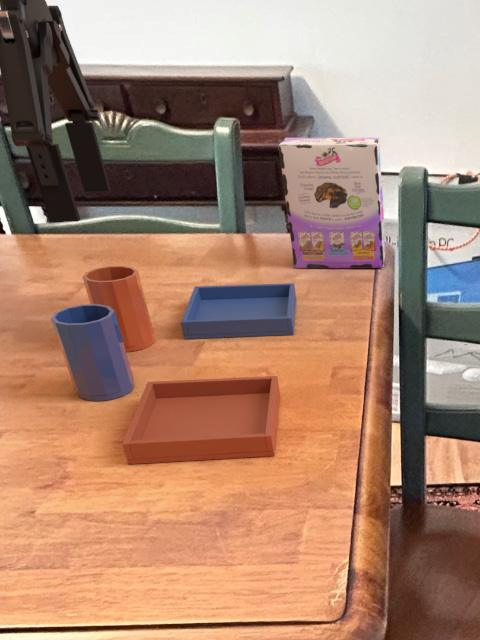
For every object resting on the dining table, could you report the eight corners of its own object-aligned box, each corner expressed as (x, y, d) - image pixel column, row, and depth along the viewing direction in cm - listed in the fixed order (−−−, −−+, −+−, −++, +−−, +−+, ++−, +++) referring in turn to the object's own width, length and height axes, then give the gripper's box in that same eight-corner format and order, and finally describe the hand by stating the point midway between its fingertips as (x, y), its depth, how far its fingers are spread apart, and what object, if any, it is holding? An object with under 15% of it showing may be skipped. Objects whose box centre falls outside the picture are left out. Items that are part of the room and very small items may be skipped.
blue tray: (184, 339, 90) (180, 322, 88) (197, 302, 100) (194, 286, 98) (293, 334, 91) (291, 317, 90) (296, 298, 101) (294, 283, 100)
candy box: (386, 258, 116) (381, 136, 105) (383, 269, 111) (378, 143, 100) (298, 257, 116) (284, 135, 105) (292, 268, 111) (277, 142, 100)
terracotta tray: (128, 464, 67) (121, 444, 66) (152, 400, 77) (147, 381, 76) (274, 456, 69) (271, 435, 67) (280, 394, 79) (277, 375, 77)
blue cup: (71, 402, 77) (44, 325, 71) (84, 379, 81) (60, 305, 76) (129, 399, 77) (106, 323, 72) (139, 376, 82) (118, 303, 76)
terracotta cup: (99, 353, 86) (77, 282, 81) (109, 334, 91) (89, 266, 85) (150, 351, 87) (131, 280, 82) (158, 332, 91) (141, 265, 86)
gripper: (2, -69, 56) (90, 234, 69) (84, -58, 74) (140, 179, 88) (-104, -70, 55) (7, 237, 69) (6, -58, 74) (76, 181, 88)
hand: (82, 205), depth 78 cm, fingers open, 13 cm apart
